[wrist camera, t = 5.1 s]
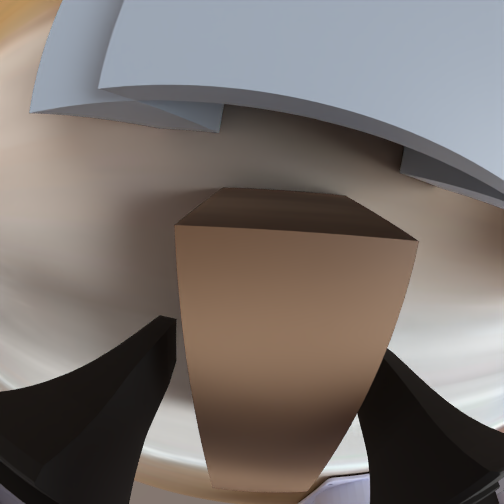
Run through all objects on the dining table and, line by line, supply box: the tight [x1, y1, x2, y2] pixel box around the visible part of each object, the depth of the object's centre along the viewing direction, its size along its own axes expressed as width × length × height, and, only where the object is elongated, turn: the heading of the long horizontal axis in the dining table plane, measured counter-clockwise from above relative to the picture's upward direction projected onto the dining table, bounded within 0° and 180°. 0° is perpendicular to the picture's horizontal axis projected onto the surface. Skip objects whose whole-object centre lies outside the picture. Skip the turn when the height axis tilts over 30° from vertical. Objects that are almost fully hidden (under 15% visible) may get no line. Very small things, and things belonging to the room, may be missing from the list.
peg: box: [174, 188, 419, 492], centre depth 8 cm, size 11×4×5 cm, turn 178°
